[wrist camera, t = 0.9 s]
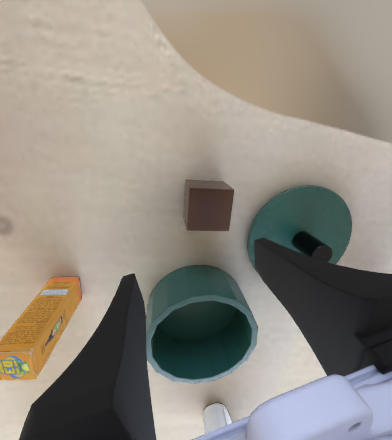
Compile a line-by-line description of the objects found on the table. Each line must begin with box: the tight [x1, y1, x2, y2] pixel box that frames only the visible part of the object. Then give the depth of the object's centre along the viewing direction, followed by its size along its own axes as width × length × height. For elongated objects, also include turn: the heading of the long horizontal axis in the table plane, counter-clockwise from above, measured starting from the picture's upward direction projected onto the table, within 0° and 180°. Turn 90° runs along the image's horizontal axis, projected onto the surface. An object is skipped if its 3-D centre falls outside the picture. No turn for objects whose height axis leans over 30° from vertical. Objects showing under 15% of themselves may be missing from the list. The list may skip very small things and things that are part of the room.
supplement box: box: [0, 277, 82, 380], centre depth 23 cm, size 3×3×10 cm
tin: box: [146, 265, 258, 384], centre depth 28 cm, size 12×12×6 cm
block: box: [183, 180, 234, 231], centre depth 24 cm, size 4×4×4 cm
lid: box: [248, 186, 352, 272], centre depth 27 cm, size 13×13×5 cm
